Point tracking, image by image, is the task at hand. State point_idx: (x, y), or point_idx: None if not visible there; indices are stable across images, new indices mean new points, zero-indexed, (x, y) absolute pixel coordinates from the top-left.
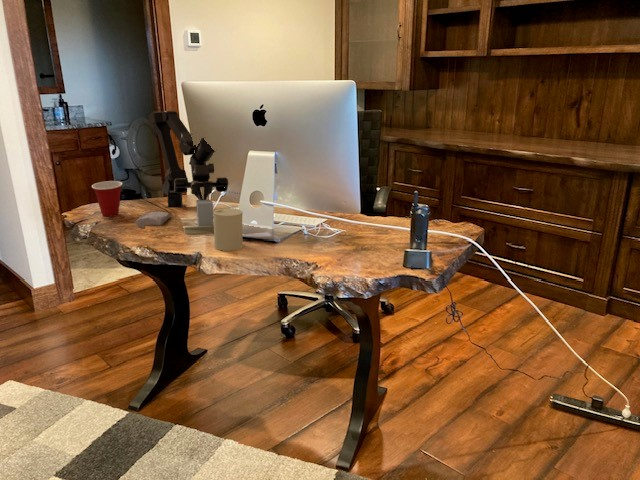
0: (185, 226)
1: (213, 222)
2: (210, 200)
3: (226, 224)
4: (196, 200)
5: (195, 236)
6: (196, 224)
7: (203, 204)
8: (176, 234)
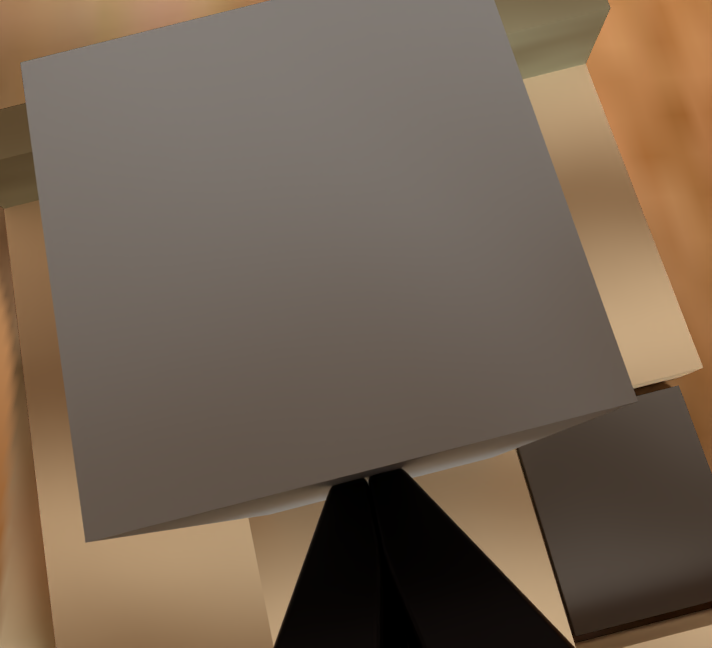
0: (657, 354)
1: (244, 623)
2: (98, 393)
3: None
4: (628, 382)
5: None
6: (509, 479)
7: (314, 20)
8: (701, 153)
